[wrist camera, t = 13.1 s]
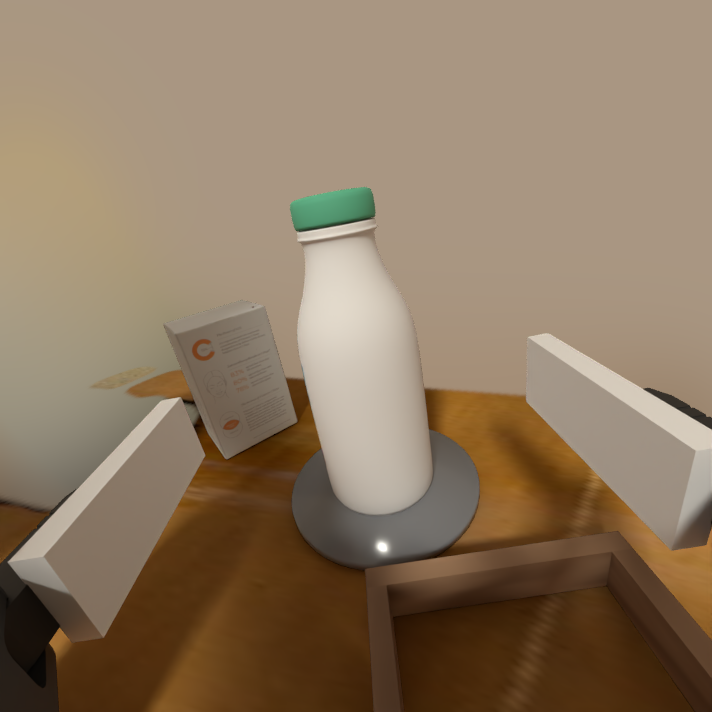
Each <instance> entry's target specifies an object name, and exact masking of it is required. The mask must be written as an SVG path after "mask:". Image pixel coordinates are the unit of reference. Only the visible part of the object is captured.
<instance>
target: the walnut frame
mask: <svg viewBox="0 0 712 712" xmlns="http://www.w3.org/2000/svg"><path fill="white" fill-rule="evenodd" d="M365 574H366V591H367V607H368V624H369V641H370V657H371V674H372V690H373V707H374V712H404V704H403V696H402V687H401V679H400V671H399V663H398V654H397V646H396V638H395V630H394V622H393V617H394V616H401V615H408V614H415V613H422V612H429V611H436V610H443V609H450V608H456V607H463V606H470V605H477V604H484V603H491V602H498V601H505V600H512V599H519V598H525V597H532V596H539V595H546V594H553V593H560V592H567V591H574V590H581V589H588V588H594V587H601V586H607V587H608V588H609V590H610V591H611V593H612V594H613V596H614V597H615V598H616V600H617V601H618V603H619V604H620V606H621V607H622V608H623V610H624V611H625V613H626V614H627V616H628V617H629V618H630V620H631V621H632V623H633V624H634V626H635V627H636V628H637V630H638V631H639V633H640V634H641V636H642V637H643V638H644V640H645V641H646V643H647V644H648V646H649V647H650V648H651V650H652V651H653V653H654V654H655V656H656V657H657V658H658V660H659V661H660V663H661V664H662V665H663V667H664V668H665V670H666V671H667V673H668V674H669V675H670V677H671V678H672V680H673V681H674V683H675V684H676V685H677V687H678V688H679V690H680V691H681V693H682V694H683V695H684V697H685V698H686V700H687V701H688V703H689V704H690V705H691V707H692V708H693V710H694V711H695V712H712V640H711V639H710V638H709V637H708V636H707V634H706V633H705V632H704V631H703V630H702V629H701V627H700V626H699V625H698V624H697V623H696V622H695V620H694V619H693V618H692V617H691V616H690V614H689V613H688V612H687V611H686V610H685V609H684V607H683V606H682V605H681V604H680V603H679V602H678V600H677V599H676V598H675V597H674V596H673V595H672V593H671V592H670V591H669V590H668V589H667V588H666V586H665V585H664V584H663V583H662V582H661V581H660V579H659V578H658V577H657V576H656V575H655V574H654V572H653V571H652V570H651V569H650V568H649V567H648V565H647V564H646V563H645V562H644V561H643V560H642V558H641V557H640V556H639V555H638V554H637V553H636V551H635V550H634V549H633V548H632V547H631V546H630V544H629V543H628V542H627V541H626V540H625V539H624V537H623V536H622V535H621V534H620V533H619V532H618V531H614V532H608V533H601V534H594V535H588V536H581V537H574V538H568V539H561V540H554V541H548V542H541V543H534V544H528V545H521V546H514V547H508V548H501V549H494V550H488V551H481V552H474V553H468V554H461V555H454V556H448V557H441V558H434V559H428V560H421V561H414V562H408V563H401V564H394V565H388V566H381V567H375V568H368V569H365Z"/></svg>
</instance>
